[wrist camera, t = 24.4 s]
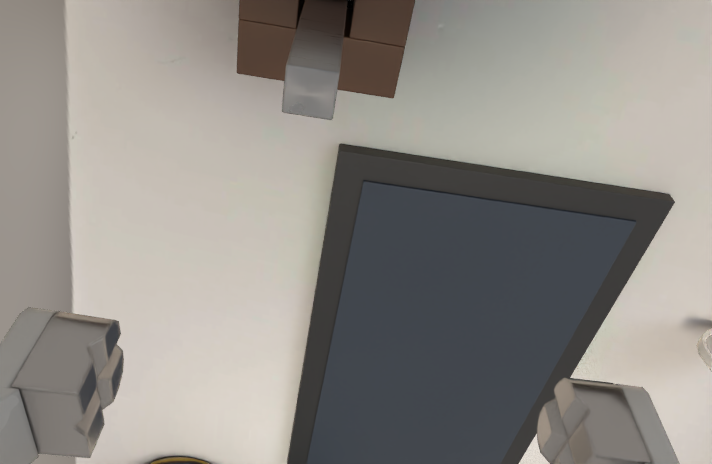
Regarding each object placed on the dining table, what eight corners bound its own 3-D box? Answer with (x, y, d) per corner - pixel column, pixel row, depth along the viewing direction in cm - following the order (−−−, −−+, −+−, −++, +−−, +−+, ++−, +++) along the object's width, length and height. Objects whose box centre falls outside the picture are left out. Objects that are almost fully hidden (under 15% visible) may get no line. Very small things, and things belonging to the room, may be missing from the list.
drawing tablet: (339, 143, 41) (338, 152, 40) (669, 194, 43) (676, 203, 42) (287, 461, 65) (286, 471, 64) (499, 484, 67) (501, 494, 66)
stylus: (316, -39, 34) (285, 64, 22) (351, -32, 34) (339, 72, 22) (312, -3, 35) (281, 113, 23) (345, 3, 35) (332, 120, 23)
